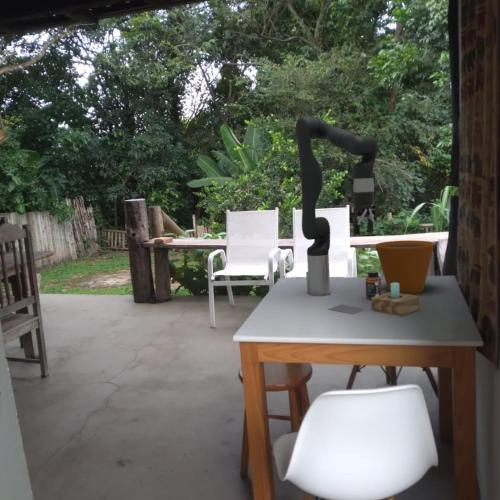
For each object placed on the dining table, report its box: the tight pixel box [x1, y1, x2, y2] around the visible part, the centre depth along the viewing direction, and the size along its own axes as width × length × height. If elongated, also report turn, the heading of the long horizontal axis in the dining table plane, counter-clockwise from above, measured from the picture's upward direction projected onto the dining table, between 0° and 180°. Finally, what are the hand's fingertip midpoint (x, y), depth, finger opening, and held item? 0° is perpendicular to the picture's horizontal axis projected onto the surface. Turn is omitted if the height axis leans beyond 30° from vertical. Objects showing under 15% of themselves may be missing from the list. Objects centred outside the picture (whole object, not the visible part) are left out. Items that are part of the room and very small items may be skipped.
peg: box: [390, 283, 400, 299], centre depth 176 cm, size 3×3×10 cm
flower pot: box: [375, 239, 435, 294], centre depth 208 cm, size 24×24×20 cm
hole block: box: [370, 291, 420, 317], centre depth 176 cm, size 12×12×5 cm
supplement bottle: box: [365, 270, 382, 301], centre depth 195 cm, size 6×6×11 cm
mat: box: [327, 304, 368, 315], centre depth 181 cm, size 12×9×1 cm
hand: (363, 233), depth 185 cm, fingers open, 8 cm apart
